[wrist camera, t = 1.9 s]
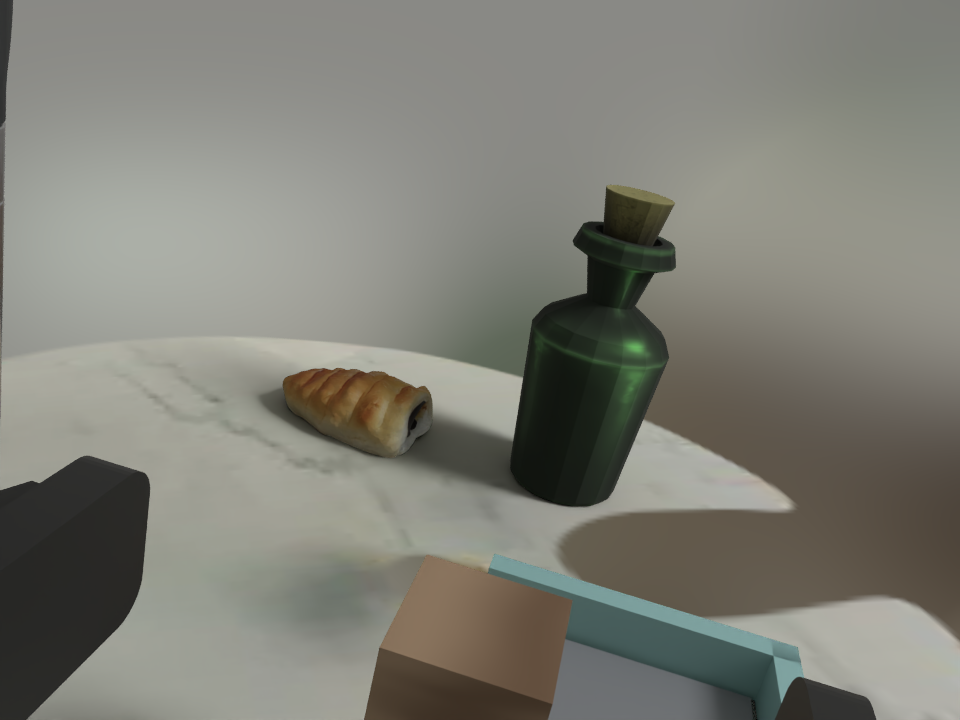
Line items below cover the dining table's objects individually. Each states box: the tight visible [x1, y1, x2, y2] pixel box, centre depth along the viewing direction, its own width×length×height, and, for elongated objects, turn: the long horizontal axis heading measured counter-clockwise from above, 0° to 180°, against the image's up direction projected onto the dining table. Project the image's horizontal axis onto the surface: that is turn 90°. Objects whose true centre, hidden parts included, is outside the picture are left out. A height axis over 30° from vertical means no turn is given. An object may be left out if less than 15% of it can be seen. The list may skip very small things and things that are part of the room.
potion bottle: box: [511, 185, 676, 506], centre depth 51 cm, size 8×8×18 cm
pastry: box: [283, 368, 433, 458], centre depth 55 cm, size 9×7×4 cm
